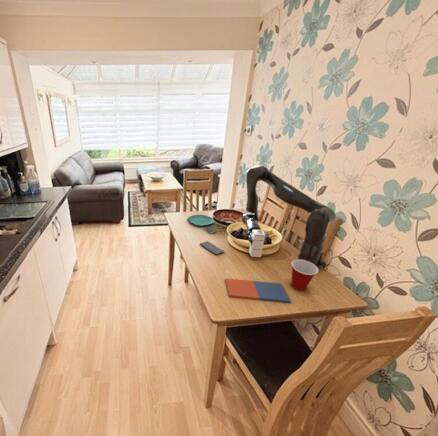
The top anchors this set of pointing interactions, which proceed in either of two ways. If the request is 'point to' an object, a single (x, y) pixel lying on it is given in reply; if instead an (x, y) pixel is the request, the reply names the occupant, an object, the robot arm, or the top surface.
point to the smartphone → (212, 248)
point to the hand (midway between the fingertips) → (258, 242)
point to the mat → (257, 290)
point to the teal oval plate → (203, 222)
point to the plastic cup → (302, 273)
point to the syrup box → (257, 243)
